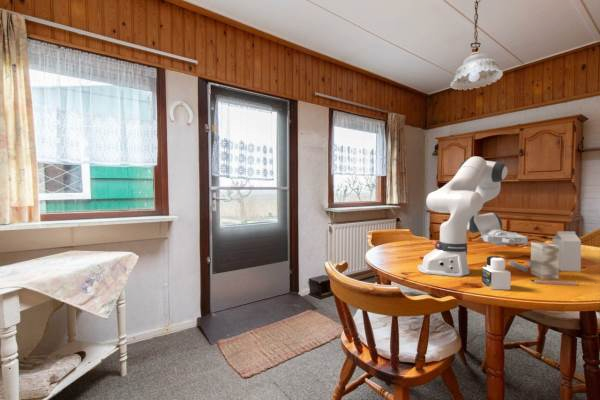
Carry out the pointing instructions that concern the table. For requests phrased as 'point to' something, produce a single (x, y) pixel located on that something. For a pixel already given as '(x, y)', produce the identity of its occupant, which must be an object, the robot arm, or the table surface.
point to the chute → (540, 280)
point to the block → (545, 260)
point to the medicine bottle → (496, 274)
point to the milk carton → (568, 250)
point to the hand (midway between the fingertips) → (511, 241)
